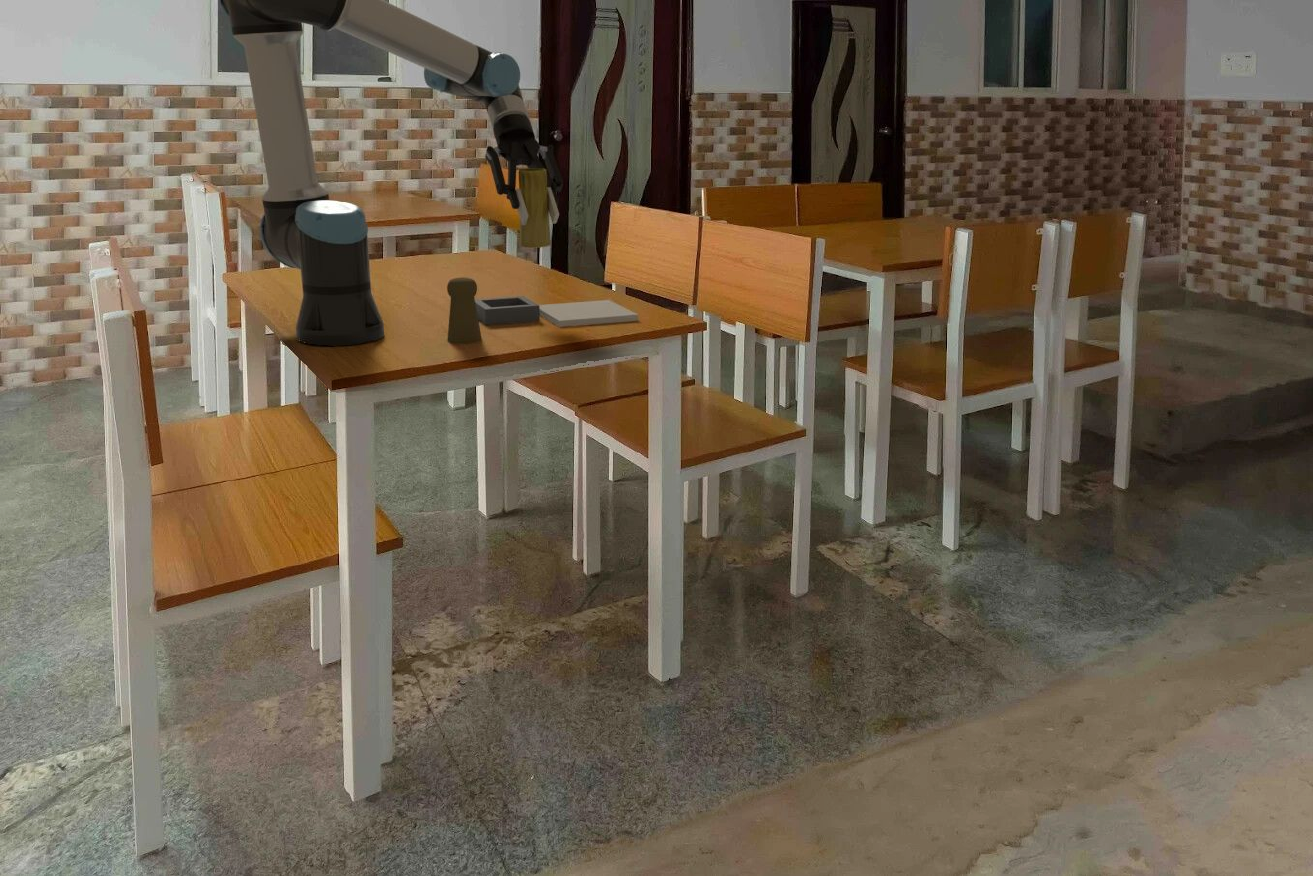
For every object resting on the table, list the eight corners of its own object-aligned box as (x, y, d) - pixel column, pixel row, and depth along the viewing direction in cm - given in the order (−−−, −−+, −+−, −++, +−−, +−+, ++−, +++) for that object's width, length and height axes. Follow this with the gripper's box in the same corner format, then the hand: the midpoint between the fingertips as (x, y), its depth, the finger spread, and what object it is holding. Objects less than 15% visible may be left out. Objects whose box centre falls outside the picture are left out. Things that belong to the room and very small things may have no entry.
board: (559, 326, 208) (559, 320, 207) (534, 311, 222) (533, 305, 221) (638, 320, 214) (638, 314, 213) (608, 305, 228) (608, 299, 227)
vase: (513, 246, 212) (510, 170, 207) (528, 242, 217) (525, 167, 212) (542, 248, 209) (539, 171, 205) (556, 243, 215) (554, 168, 210)
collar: (485, 325, 209) (485, 309, 208) (472, 314, 218) (471, 299, 217) (539, 320, 213) (539, 305, 212) (523, 310, 222) (523, 295, 221)
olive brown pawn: (466, 334, 201) (463, 274, 198) (488, 339, 198) (486, 277, 194) (440, 340, 197) (436, 278, 193) (463, 345, 193) (460, 282, 190)
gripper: (551, 137, 224) (582, 229, 215) (462, 139, 217) (490, 235, 208) (559, 110, 218) (591, 204, 209) (468, 112, 211) (496, 209, 202)
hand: (540, 219), depth 208 cm, fingers closed on vase, 5 cm apart
